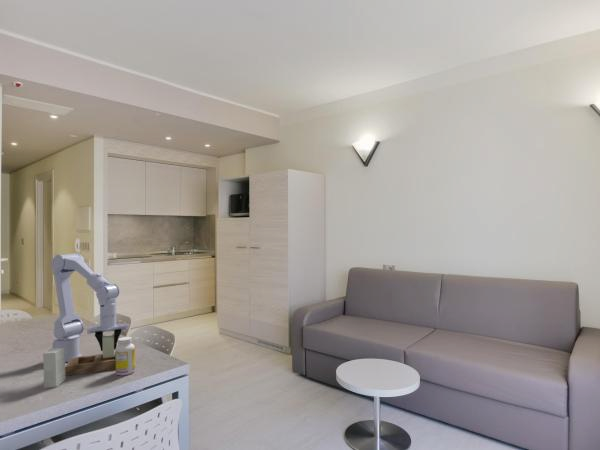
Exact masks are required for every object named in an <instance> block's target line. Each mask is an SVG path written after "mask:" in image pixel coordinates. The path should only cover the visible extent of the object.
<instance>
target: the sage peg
mask: <svg viewBox="0 0 600 450" xmlns="http://www.w3.org/2000/svg"><path fill="white" fill-rule="evenodd" d="M102 340H103V351H102V354H103V358H108V357H114V355H115V349H114V333H111V334H103V338H102Z"/></svg>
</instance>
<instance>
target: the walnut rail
mask: <svg viewBox="0 0 600 450" xmlns="http://www.w3.org/2000/svg"><path fill="white" fill-rule="evenodd" d="M66 363H67V364H65V377H66V376H67V377H68V376H75V375H82V374H89V373H94V372H96V373H97V372H102V371H109V370H110V371H111V370H116V358H115V355H114V357H108V358H103V353H100V354H98V353H97V354H90V355H83V356H82V355H81V357H73V358H70V360H69V362H66Z"/></svg>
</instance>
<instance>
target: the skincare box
mask: <svg viewBox="0 0 600 450" xmlns="http://www.w3.org/2000/svg"><path fill="white" fill-rule="evenodd" d="M42 355H43V357H42V359H43V360H42V361H43V362H42V363H43V364H42V365H43V388H44V389H47V388H48V389H52V388H57V387H58V386H60V385H61V384H63V383H64V382H65V381H66V376H65V367H66V362H65V350H64V348H52V347H51V349H49V350H47V351H45V352H43V354H42Z"/></svg>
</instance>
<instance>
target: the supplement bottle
mask: <svg viewBox="0 0 600 450" xmlns="http://www.w3.org/2000/svg"><path fill="white" fill-rule="evenodd" d="M132 341H133V339H132V337H131V336H122V337H119V338H118V341H117V343H118V345H117V346H116V349H115V358H116V369H115V375H117V376H127V375H130V374H133V373H134V372H135V371H136V353H135V352H136V348H135V345H134V343H132Z"/></svg>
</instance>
